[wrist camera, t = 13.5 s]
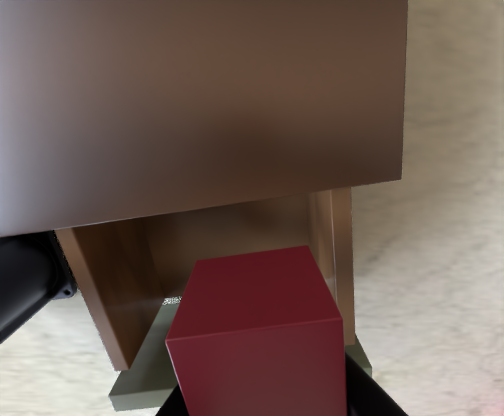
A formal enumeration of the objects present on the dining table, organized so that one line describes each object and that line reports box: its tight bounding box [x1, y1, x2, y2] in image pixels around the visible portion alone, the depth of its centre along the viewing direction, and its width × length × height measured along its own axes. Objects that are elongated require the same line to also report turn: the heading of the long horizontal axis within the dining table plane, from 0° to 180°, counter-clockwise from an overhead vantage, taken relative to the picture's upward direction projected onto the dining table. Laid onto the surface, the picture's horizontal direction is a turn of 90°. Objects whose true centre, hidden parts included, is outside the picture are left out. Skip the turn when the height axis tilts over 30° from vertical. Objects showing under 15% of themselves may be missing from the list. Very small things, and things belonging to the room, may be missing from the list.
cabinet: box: [0, 0, 408, 237], centre depth 11 cm, size 14×15×9 cm
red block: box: [165, 245, 348, 416], centre depth 8 cm, size 6×4×3 cm, turn 8°
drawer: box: [54, 187, 372, 411], centre depth 15 cm, size 17×13×7 cm
